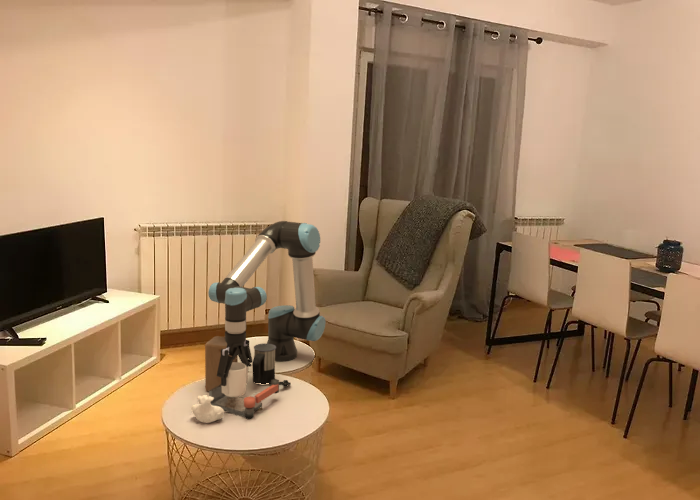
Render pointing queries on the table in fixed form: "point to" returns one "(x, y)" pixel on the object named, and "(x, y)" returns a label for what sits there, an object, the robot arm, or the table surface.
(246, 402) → the lever
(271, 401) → the table surface
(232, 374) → the mug
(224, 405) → the metal tray
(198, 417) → the bust
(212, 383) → the wooden block
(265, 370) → the milk frother
